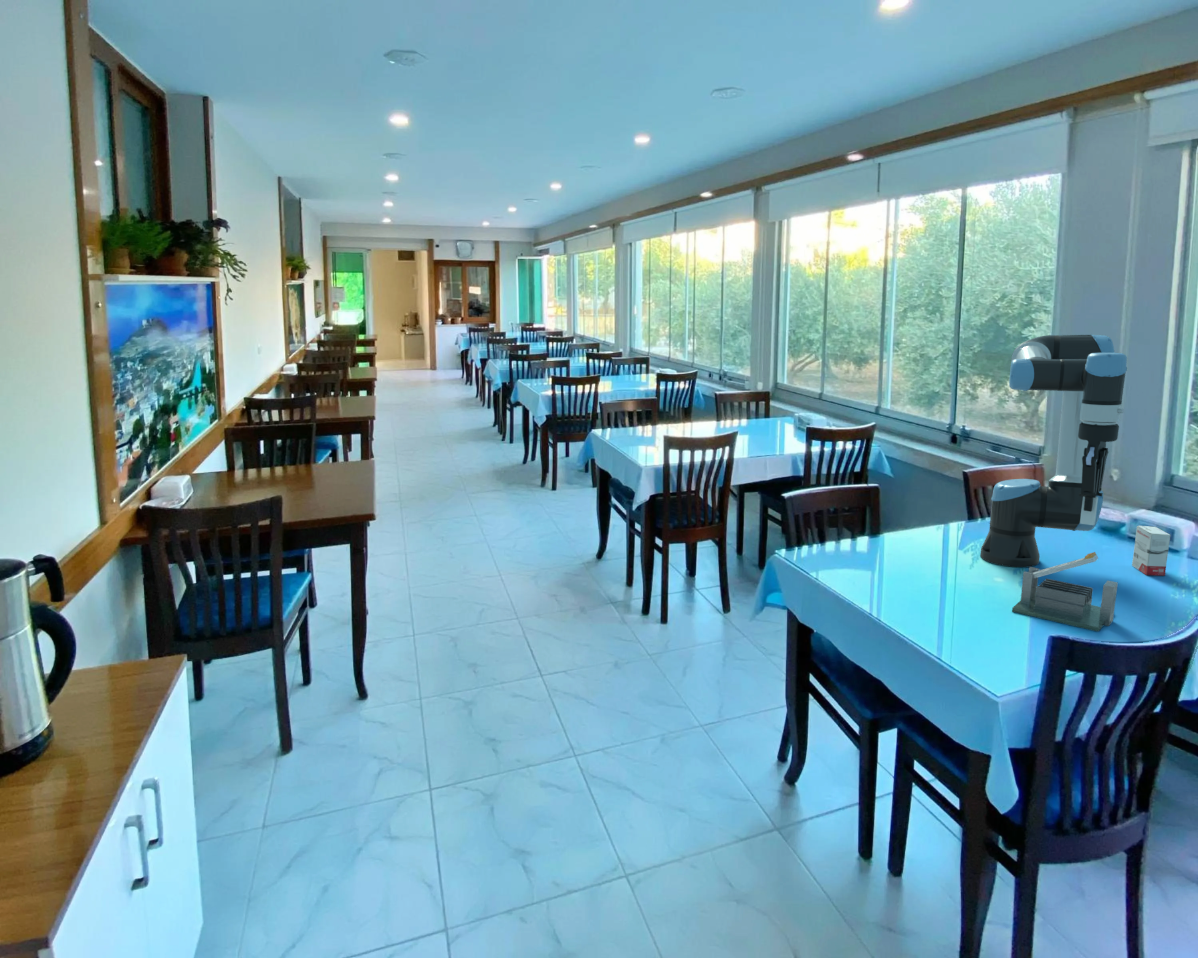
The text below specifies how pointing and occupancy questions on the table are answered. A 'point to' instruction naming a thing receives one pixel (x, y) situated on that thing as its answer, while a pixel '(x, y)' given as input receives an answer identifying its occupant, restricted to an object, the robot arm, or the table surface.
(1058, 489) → the robot arm
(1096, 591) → the table surface
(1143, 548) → the ink box
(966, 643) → the table surface
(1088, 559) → the strap
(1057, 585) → the heatsink
